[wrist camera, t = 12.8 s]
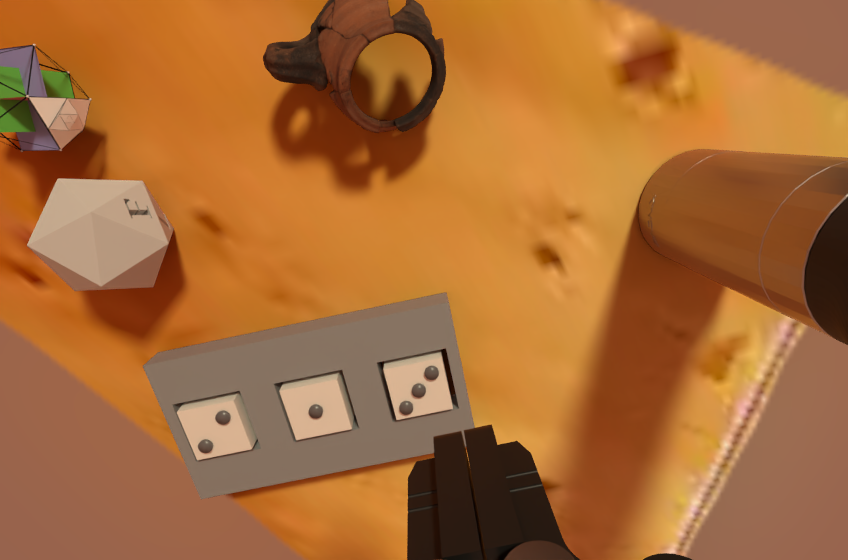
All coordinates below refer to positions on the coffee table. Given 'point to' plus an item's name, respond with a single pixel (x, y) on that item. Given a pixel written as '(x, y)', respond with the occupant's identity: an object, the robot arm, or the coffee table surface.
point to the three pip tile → (418, 384)
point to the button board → (302, 357)
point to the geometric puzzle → (38, 102)
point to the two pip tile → (217, 425)
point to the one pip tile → (318, 404)
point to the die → (102, 234)
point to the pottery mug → (356, 55)
